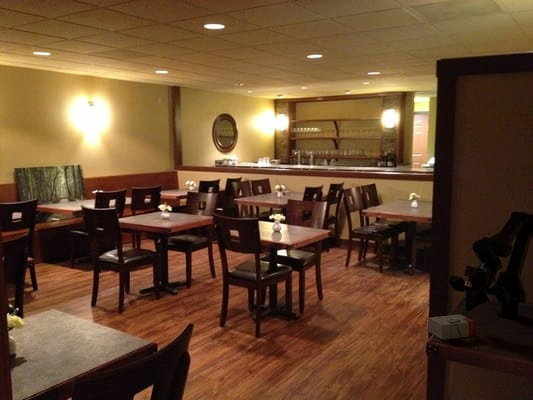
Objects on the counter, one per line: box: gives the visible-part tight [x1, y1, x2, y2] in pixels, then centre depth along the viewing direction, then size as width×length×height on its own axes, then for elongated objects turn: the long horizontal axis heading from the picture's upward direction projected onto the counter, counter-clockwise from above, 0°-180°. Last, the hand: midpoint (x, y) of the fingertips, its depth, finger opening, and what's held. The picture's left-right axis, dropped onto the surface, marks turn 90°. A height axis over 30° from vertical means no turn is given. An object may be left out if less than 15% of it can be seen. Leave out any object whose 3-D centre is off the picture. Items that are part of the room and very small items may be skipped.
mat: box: [456, 336, 477, 343], centre depth 146 cm, size 4×6×1 cm
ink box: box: [427, 314, 477, 341], centre depth 149 cm, size 9×5×12 cm
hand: (467, 310), depth 146 cm, fingers closed
